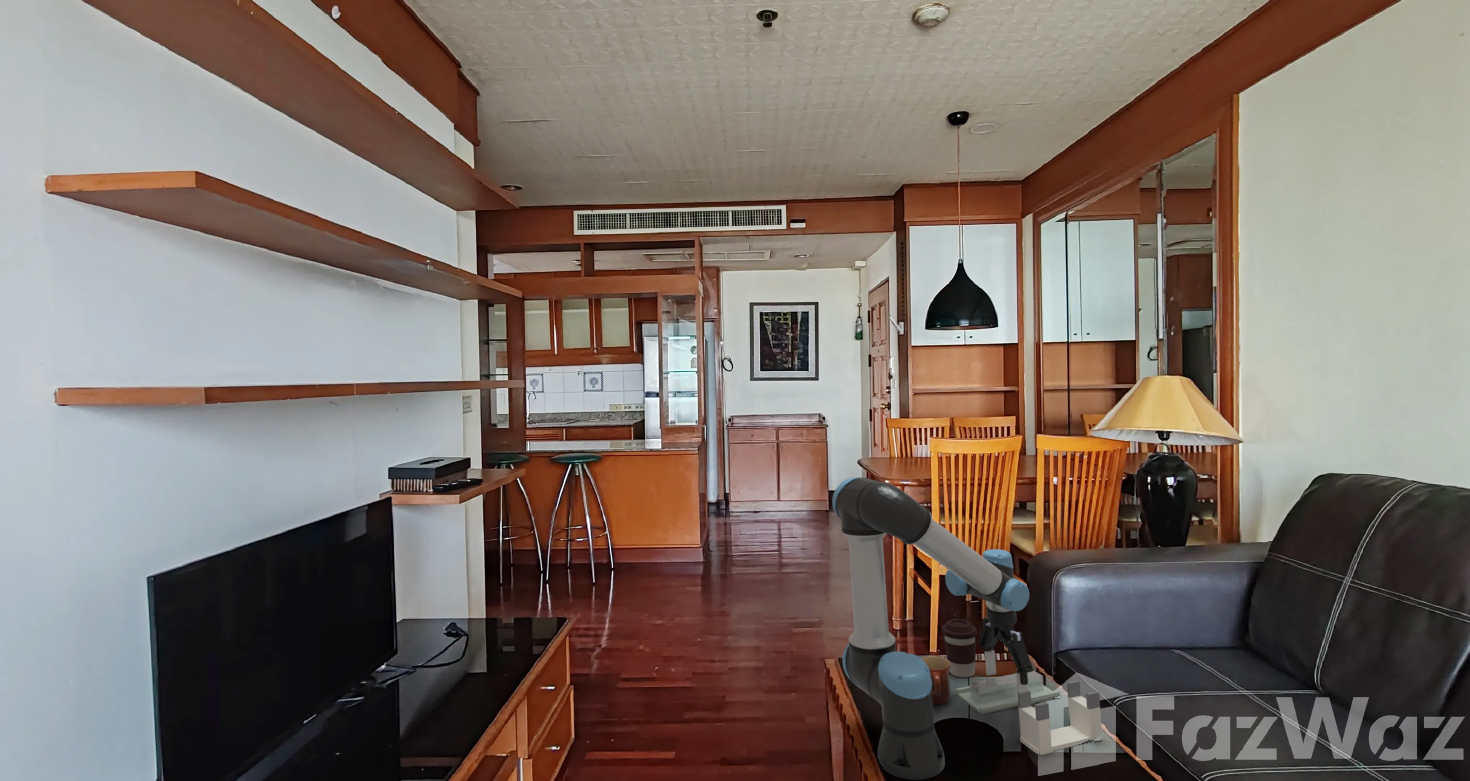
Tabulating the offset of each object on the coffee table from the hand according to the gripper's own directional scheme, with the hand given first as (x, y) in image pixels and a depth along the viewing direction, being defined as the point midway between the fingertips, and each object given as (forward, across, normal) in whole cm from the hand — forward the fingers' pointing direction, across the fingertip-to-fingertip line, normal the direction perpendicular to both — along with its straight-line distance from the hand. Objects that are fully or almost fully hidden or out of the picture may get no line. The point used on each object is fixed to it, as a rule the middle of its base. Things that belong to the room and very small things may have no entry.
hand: (1006, 684), depth 180 cm
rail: (+3, 0, 0) cm, 3 cm away
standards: (+3, -23, +2) cm, 23 cm away
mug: (+3, +4, +19) cm, 20 cm away
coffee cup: (+3, +17, +3) cm, 18 cm away
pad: (+3, 0, 0) cm, 3 cm away
